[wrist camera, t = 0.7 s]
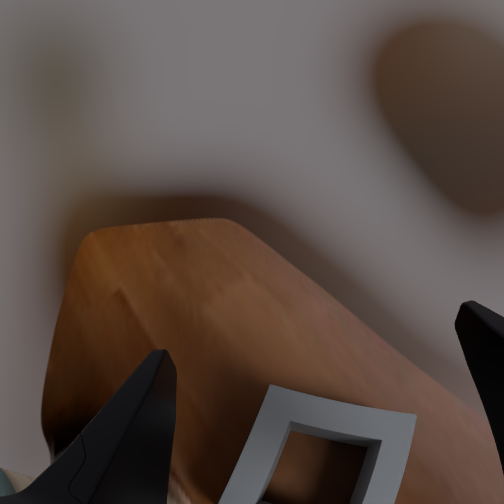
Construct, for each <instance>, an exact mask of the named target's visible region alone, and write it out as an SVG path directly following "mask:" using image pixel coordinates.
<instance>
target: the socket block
mask: <svg viewBox="0 0 504 504" xmlns="http://www.w3.org/2000/svg"><path fill="white" fill-rule="evenodd" d="M416 417H417V415H415V414H408V413H400V412H394V411H387V410H381V409H375V408H370V407H364V406H359V405H354V404H349V403H344V402H339V401H334V400H330V399H326V398H321V397H317V396H313V395H309V394H305V393H301V392H297V391H293V390H290V389H286V388H282V387H279V386H275V385H272V384H270V386H269V389H268V391H267V394H266V396H265V399H264V401H263V404H262V406H261V409H260V411H259V413H258V416H257V418H256V421H255V423H254V426H253V428H252V430H251V433H250V435H249V437H248V440H247V442H246V444H245V447H244V449H243V451H242V453H241V456H240V458H239V460H238V462H237V465H236V467H235V469H234V471H233V473H232V476H231V478H230V480H229V482H228V484H227V486H226V489H225V491H224V493H223V495H222V497H221V499H220V501H219V503H218V504H272V503H268V502H265V501H262V498H263V496H264V494H265V491H266V489H267V487H268V485H269V482H270V480H271V478H272V475H273V473H274V471H275V468H276V466H277V463H278V461H279V458H280V456H281V453H282V451H283V448H284V446H285V443H286V441H287V438H288V435H289V433H290V430H291V431H295V432H299V433H303V434H307V435H311V436H315V437H319V438H323V439H328V440H332V441H337V442H342V443H347V444H353V445H358V446H364V447H368V448H367V452H366V455H365V458H364V462H363V465H362V468H361V471H360V474H359V477H358V480H357V483H356V486H355V489H354V491H353V494H352V497H351V500H350V502H349V504H394V502H395V499H396V496H397V493H398V490H399V487H400V484H401V480H402V477H403V473H404V470H405V466H406V462H407V458H408V454H409V450H410V446H411V442H412V437H413V433H414V428H415V423H416Z"/></svg>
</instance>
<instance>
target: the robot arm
mask: <svg viewBox="0 0 504 504" xmlns="http://www.w3.org/2000/svg"><path fill="white" fill-rule="evenodd" d="M455 330H456V332H457V335H458V338H459V341H460V344H461V347H462V350H463V353H464V356H465V359H466V362H467V365H468V367H469V370H470V373H471V375H472V378H473V380H474V382H475V385H476V387H477V390H478V393H479V395H480V398H481V400H482V403H483V406H484V409H485V412H486V415H487V417H488V421H489V424H490V427H491V430H492V433H493V436H494V439H495V443H496V446H497V450H498V454H499V457H500V461H501V465H502V470H503V474H504V317H502V316H501V315H499V314H497V313H495V312H493V311H492V310H490V309H488V308H486V307H484V306H482V305H481V304H479V303H477V302H475V301H467V302H464V303H462V304H461V306H460V309H459V312H458V314H457V318H456V320H455ZM176 383H177V371H176V367H175V365H174V363H173V361H172V359H171V357H170V355H169V353H168V351H167V350H165V349H161V350H153V351H151V352H150V354H149V355H148V356H147V357H146V358H145V359H144V360H143V362H142V363H141V364H140V365H139V366H138V367H137V368H136V370H135V371H134V372H133V373H132V374H131V375H130V376H129V378H128V379H127V380H126V381H125V382H124V383H123V384H122V386H121V387H120V388H119V389H118V390H117V391H116V393H115V394H114V395H113V396H112V397H111V398H110V399H109V401H108V402H107V403H106V404H105V405H104V406H103V408H102V409H101V410H100V411H99V412H98V413H97V415H96V416H95V417H94V418H93V419H92V420H91V421H90V423H89V424H88V425H87V426H86V427H85V428H84V430H83V431H82V434H79V435H78V436H77V438H76V439H75V440H74V441H73V442H72V443H71V445H70V446H69V447H68V448H67V449H66V450H65V451H64V452H63V453H62V454H61V455H60V456H59V457H58V458H57V459H56V460H55V461H54V462H53V463H52V464H51V465H50V466H49V467H48V468H47V469H46V470H45V471H44V472H43V473H42V474H41V475H39V476H38V477H37V478H36V479H35V480H34V481H33V482H32V483H31V484H30V485H29V486H27V487H26V488H25V489H23V490H21V491H19V492H17V493H15V494H11V495H6V496H0V504H167V493H168V483H169V473H170V464H171V455H172V446H173V438H174V430H175V422H176Z"/></svg>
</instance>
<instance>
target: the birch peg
mask: <svg viewBox="0 0 504 504" xmlns="http://www.w3.org/2000/svg"><path fill="white" fill-rule="evenodd" d="M35 479H36V478H34V477H30V476H25V475H22V474H19V473H15V472H12V471H9V470H5V469H3V468H0V496H6V495H11V494H15V493H17V492H19V491H21V490H23V489H25V488H26V487H27V486H29V485H30V484H31V483H32V482H33V481H34V480H35Z"/></svg>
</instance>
